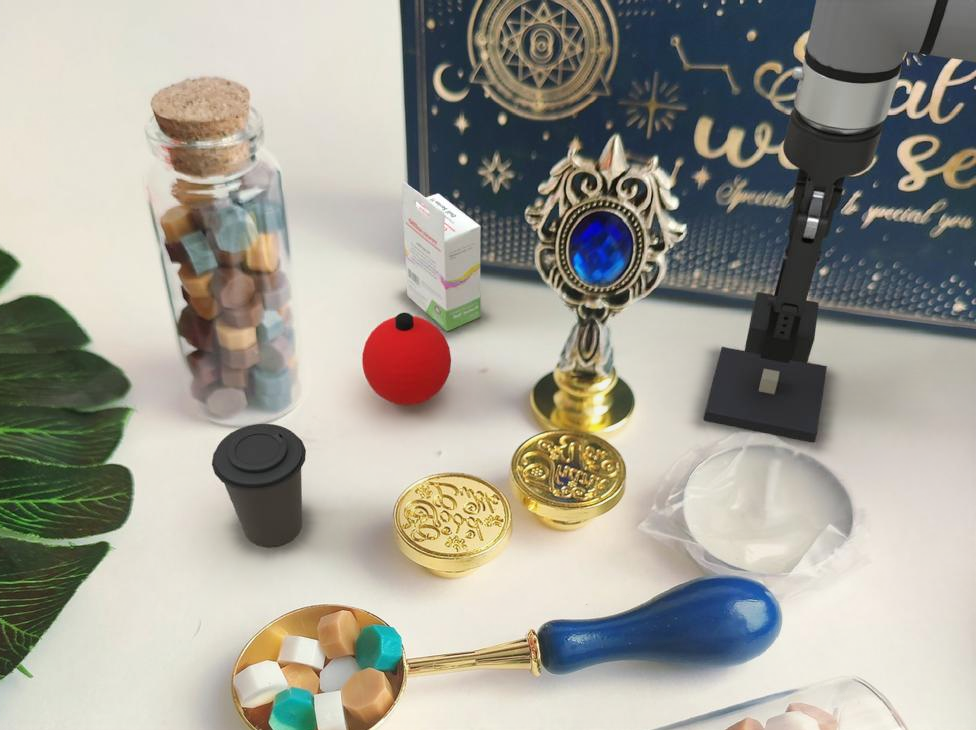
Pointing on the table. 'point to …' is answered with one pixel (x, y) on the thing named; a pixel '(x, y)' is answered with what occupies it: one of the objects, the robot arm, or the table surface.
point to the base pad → (766, 394)
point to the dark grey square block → (761, 322)
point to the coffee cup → (263, 481)
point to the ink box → (441, 258)
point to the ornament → (406, 360)
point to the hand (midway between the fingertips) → (778, 337)
